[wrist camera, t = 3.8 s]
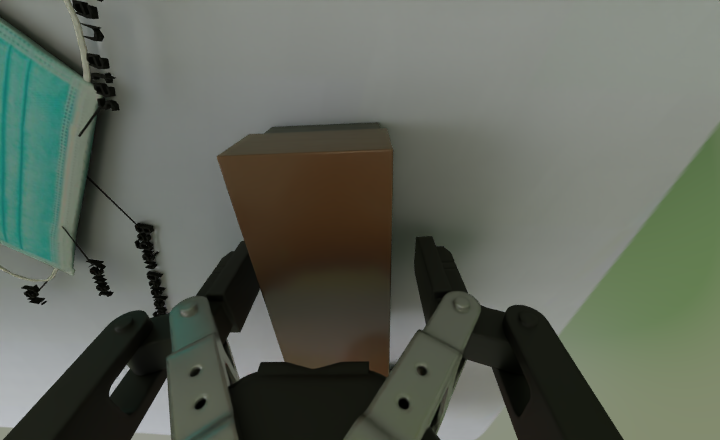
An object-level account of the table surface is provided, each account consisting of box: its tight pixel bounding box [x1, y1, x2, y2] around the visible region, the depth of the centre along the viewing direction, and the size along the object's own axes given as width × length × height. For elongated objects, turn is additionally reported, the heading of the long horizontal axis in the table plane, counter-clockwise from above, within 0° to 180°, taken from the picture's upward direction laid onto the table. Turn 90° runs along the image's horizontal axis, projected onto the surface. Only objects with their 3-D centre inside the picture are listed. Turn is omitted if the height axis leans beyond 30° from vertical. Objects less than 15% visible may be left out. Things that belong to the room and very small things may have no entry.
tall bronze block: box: [217, 122, 393, 377], centre depth 13 cm, size 12×5×4 cm, turn 2°
